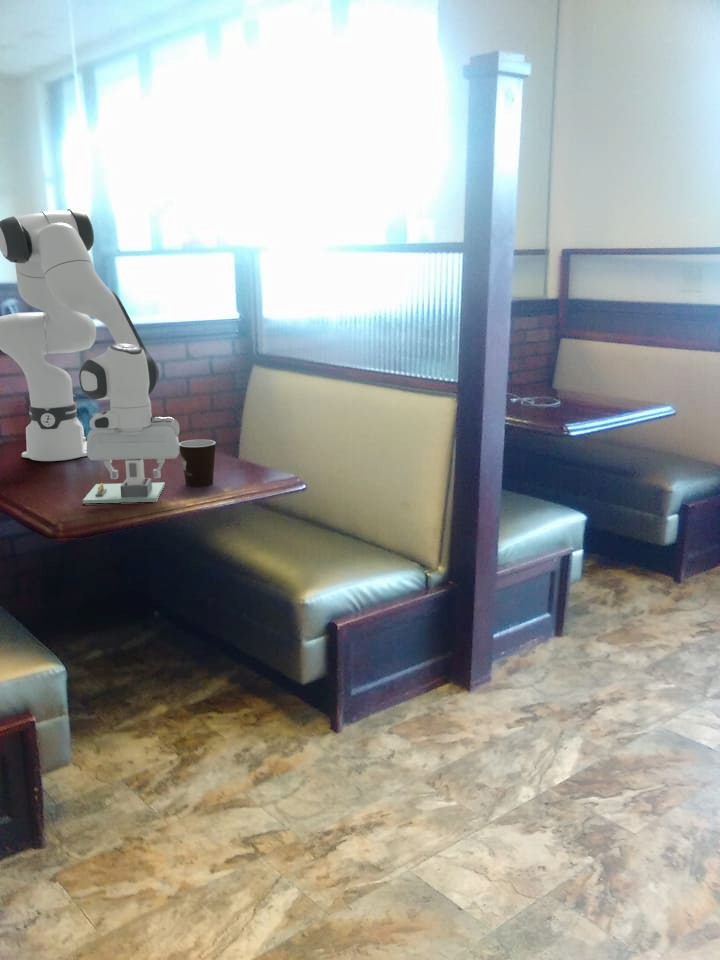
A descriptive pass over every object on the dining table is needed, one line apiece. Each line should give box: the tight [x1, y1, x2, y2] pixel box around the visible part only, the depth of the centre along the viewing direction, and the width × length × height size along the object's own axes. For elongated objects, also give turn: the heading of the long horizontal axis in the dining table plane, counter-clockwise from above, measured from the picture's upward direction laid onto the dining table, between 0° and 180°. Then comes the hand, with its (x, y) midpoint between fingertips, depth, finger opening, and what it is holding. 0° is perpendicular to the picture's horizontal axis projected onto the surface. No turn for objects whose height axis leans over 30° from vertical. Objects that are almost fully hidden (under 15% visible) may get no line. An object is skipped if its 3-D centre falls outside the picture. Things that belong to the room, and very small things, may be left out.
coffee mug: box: [179, 439, 217, 488], centre depth 210 cm, size 12×9×10 cm
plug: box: [124, 459, 145, 486], centre depth 197 cm, size 5×3×8 cm, turn 5°
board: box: [82, 477, 166, 504], centre depth 200 cm, size 14×16×4 cm
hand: (135, 477), depth 197 cm, fingers open, 8 cm apart
